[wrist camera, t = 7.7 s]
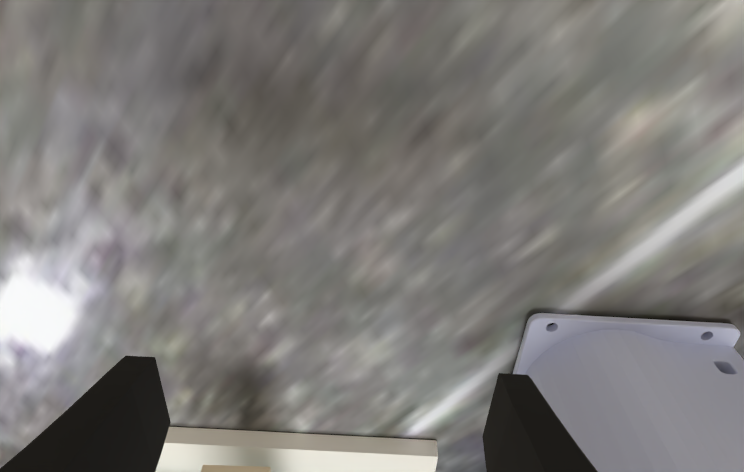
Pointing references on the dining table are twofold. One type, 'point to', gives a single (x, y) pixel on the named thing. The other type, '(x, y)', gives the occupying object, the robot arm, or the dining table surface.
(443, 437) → the dining table surface
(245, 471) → the beech bar
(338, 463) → the stand
